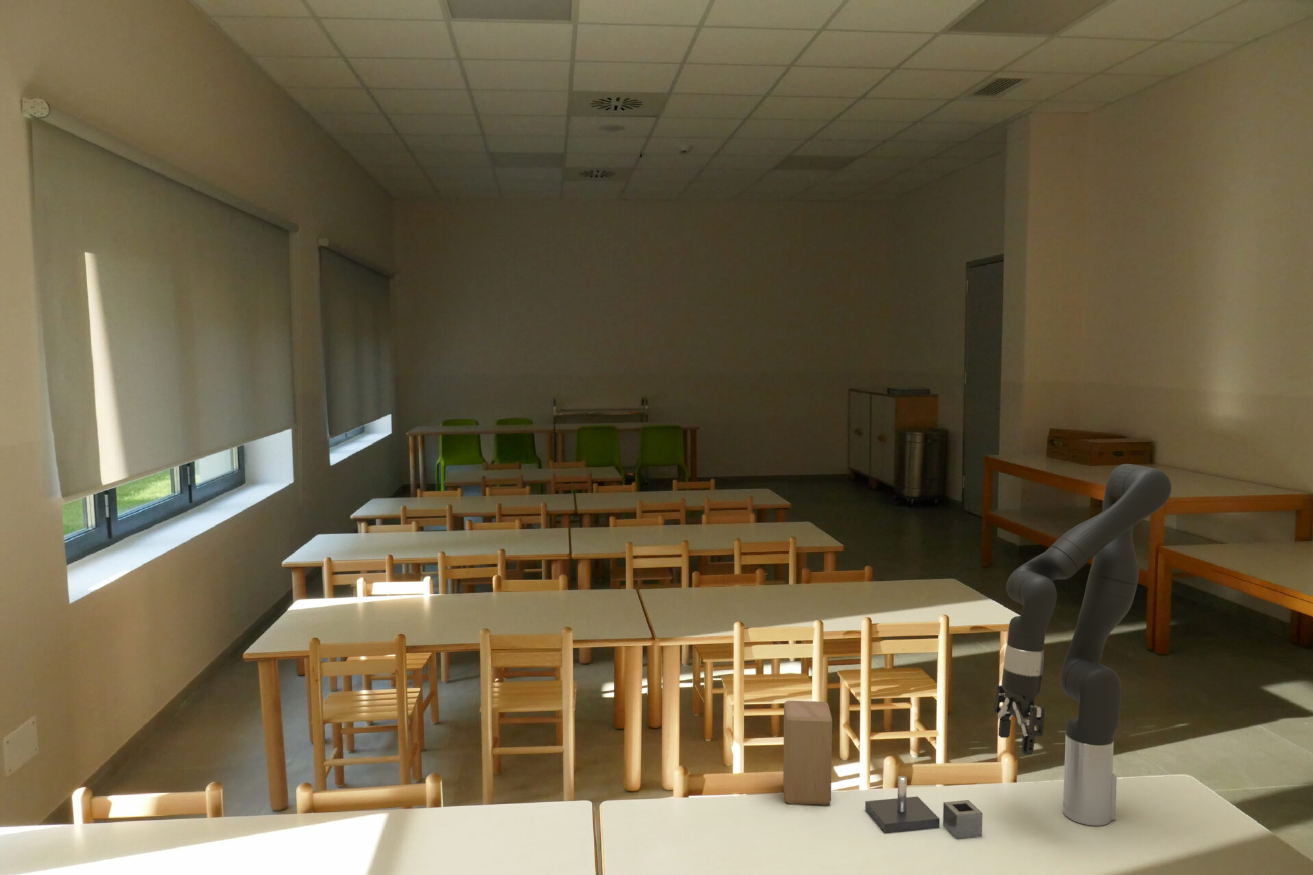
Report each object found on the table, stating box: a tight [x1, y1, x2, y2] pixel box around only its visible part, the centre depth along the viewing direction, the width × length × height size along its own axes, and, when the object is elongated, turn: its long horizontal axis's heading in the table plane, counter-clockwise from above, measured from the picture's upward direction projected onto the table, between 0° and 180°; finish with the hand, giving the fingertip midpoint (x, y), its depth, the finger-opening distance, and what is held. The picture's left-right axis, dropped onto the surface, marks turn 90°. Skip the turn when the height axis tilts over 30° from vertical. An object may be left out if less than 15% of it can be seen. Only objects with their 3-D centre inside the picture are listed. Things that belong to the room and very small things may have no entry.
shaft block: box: [864, 775, 941, 834], centre depth 196 cm, size 12×10×9 cm
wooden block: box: [782, 700, 833, 806], centre depth 207 cm, size 10×10×20 cm
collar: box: [942, 799, 983, 840], centre depth 192 cm, size 6×6×5 cm
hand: (1014, 744), depth 193 cm, fingers open, 8 cm apart
